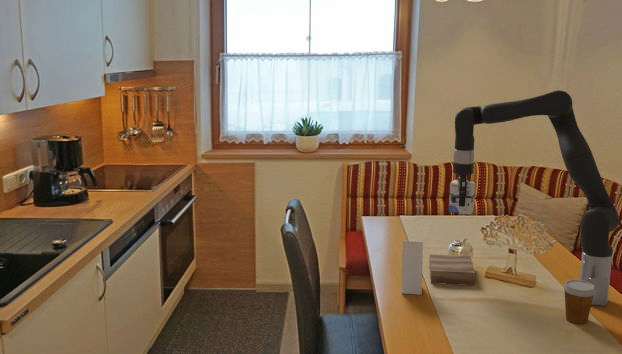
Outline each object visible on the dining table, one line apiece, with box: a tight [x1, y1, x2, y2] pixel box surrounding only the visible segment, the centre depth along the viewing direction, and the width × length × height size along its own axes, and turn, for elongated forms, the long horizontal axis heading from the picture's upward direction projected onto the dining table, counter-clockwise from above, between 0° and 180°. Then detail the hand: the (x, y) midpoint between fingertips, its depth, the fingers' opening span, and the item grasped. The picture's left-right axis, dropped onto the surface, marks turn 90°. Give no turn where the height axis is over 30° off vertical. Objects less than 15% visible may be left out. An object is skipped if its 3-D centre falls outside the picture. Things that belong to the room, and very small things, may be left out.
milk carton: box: [401, 240, 424, 296], centre depth 206 cm, size 7×7×19 cm
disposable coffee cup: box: [562, 279, 596, 325], centre depth 182 cm, size 10×10×12 cm
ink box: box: [448, 179, 476, 215], centre depth 217 cm, size 8×5×12 cm, turn 61°
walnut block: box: [429, 254, 476, 286], centre depth 221 cm, size 18×16×5 cm
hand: (461, 204), depth 217 cm, fingers closed on ink box, 6 cm apart
